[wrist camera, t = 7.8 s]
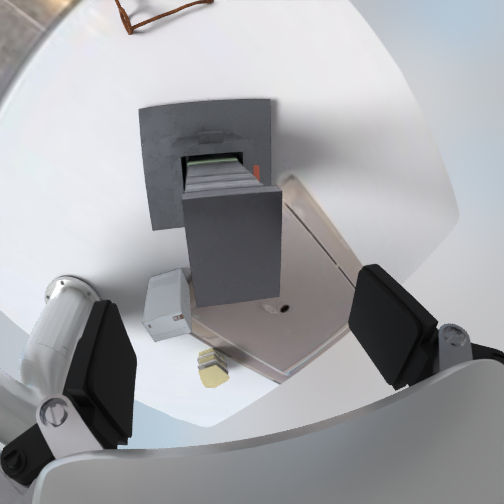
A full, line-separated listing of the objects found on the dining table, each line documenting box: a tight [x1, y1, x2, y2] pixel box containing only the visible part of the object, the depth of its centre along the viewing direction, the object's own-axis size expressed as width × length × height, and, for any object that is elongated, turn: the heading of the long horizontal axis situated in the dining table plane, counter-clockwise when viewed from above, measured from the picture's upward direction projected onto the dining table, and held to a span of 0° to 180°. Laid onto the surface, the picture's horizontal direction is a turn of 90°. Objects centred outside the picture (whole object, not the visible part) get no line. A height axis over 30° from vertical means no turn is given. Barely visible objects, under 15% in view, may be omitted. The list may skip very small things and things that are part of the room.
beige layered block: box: [197, 348, 229, 388], centre depth 55 cm, size 10×9×6 cm
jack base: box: [139, 99, 271, 231], centre depth 33 cm, size 18×18×14 cm
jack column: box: [182, 152, 282, 307], centre depth 23 cm, size 6×5×21 cm
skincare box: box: [142, 268, 192, 342], centre depth 41 cm, size 6×4×12 cm
